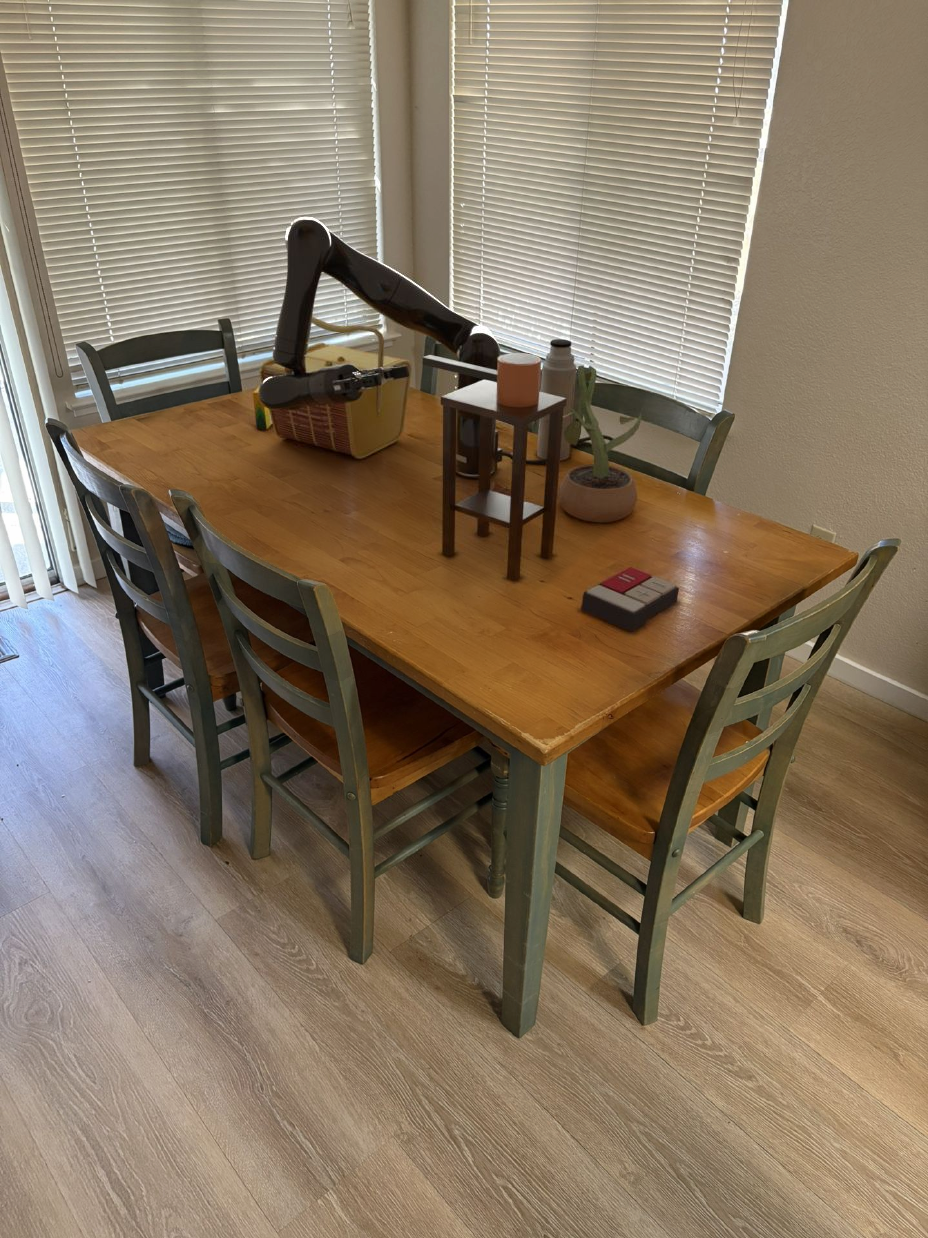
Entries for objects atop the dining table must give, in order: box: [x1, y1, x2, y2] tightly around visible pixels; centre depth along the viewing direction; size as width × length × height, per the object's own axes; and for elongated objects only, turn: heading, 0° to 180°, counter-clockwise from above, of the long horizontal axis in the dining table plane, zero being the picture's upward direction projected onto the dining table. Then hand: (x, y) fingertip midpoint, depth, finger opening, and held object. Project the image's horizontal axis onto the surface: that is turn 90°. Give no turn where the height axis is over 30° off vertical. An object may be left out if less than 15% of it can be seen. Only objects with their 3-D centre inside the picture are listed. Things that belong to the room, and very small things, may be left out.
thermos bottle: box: [536, 338, 577, 461], centre depth 224 cm, size 8×8×28 cm
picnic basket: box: [258, 316, 413, 460], centre depth 229 cm, size 29×26×30 cm
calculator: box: [580, 566, 680, 633], centre depth 168 cm, size 11×4×15 cm
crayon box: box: [252, 385, 273, 430], centre depth 243 cm, size 7×3×12 cm, turn 172°
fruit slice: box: [490, 480, 511, 497], centre depth 203 cm, size 8×7×5 cm
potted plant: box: [545, 365, 642, 524], centre depth 198 cm, size 22×18×30 cm
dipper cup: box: [422, 352, 542, 408], centre depth 169 cm, size 25×8×8 cm, turn 53°
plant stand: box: [440, 379, 567, 582], centre depth 176 cm, size 18×14×32 cm
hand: (393, 375), depth 182 cm, fingers open, 8 cm apart
